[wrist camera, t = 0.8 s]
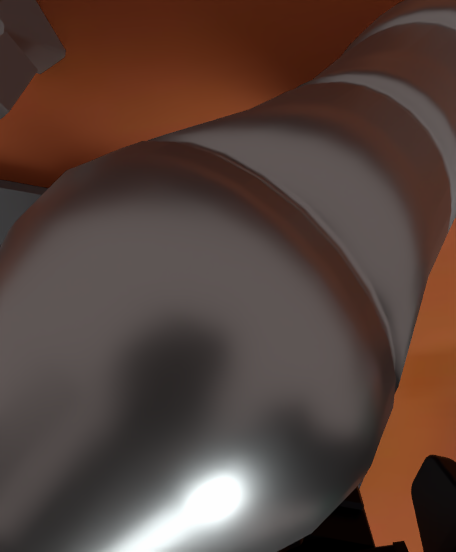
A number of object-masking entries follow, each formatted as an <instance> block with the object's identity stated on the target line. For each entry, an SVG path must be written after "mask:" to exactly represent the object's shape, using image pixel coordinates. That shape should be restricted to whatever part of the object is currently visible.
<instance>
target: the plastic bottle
mask: <svg viewBox="0 0 456 552" xmlns="http://www.w3.org/2000/svg"><path fill="white" fill-rule="evenodd" d="M455 218H456V0H405V1H403V2H400V3H398V4H397V5H395V6H394V7H392V8H391V9H389V10H388V11H386V12H385V13H384V14H382V15H381V16H379V17H378V18H377V19H376V20H375V21H374V22H373V23H372V24H371V25H370V26H369V27H367V28H366V29H365V30H364V31H363V32H362V33H361V34H360V35H359V36H358V37H357V38H356V39H355V40H354V41H353V42H352V43H351V44H350V45H349V46H348V48H347V49H346V50H345V52H344V53H343V54H342V56H341V57H340V58H339V59H337V60H336V61H335V62H334V63H332V64H331V65H330V66H329V67H328V68H326V69H325V70H324V71H323V72H321V73H320V74H319V75H318V76H316V77H315V78H314V79H313V80H311V81H309V82H306V83H304V84H302V85H300V86H298V87H297V88H295V89H293V90H290V91H287V92H285V93H283V94H281V95H279V96H277V97H274V98H272V99H270V100H268V101H266V102H264V103H262V104H260V105H258V106H255V107H253V108H251V109H249V110H246V111H242V112H239V113H236V114H232V115H229V116H226V117H222V118H219V119H216V120H212V121H209V122H206V123H203V124H199V125H196V126H193V127H189V128H186V129H183V130H179V131H176V132H173V133H169V134H166V135H163V136H160V137H157V138H154V139H151V140H148V141H141V142H138V143H135V144H132V145H129V146H126V147H123V148H121V149H118V150H116V151H113V152H111V153H109V154H106V155H104V156H101V157H99V158H97V159H94V160H92V161H89V162H87V163H84V164H82V165H79V166H77V167H74V168H71V169H69V170H66V171H65V172H64V173H63V174H62V175H61V176H60V177H59V178H58V179H57V180H56V181H55V182H54V183H53V184H52V185H51V186H50V187H49V188H48V189H47V190H46V191H45V192H44V193H43V194H42V195H41V196H40V197H39V199H38V200H37V201H36V202H35V203H34V204H33V205H32V206H31V207H30V208H29V209H28V210H27V211H26V212H25V213H24V214H23V215H22V216H21V217H20V218H19V219H18V220H17V221H16V222H15V223H14V224H13V226H12V227H11V228H10V229H9V231H8V233H7V235H6V237H5V239H4V241H3V243H2V245H1V247H0V552H277V551H279V550H281V549H283V548H285V547H287V546H288V545H290V544H292V543H294V542H296V541H298V540H300V539H302V538H303V537H305V536H307V535H309V534H311V533H312V532H313V531H314V530H315V529H316V528H317V527H318V526H319V525H320V524H321V523H322V522H323V521H324V520H325V519H326V518H327V517H328V516H329V515H330V514H331V513H332V512H333V511H334V510H335V509H336V508H337V507H338V506H339V505H340V504H341V503H342V502H343V501H344V500H345V499H346V497H347V496H348V495H349V494H350V493H351V492H352V491H353V490H354V489H355V488H356V487H357V486H358V485H359V484H360V483H361V482H362V480H363V478H364V477H365V475H366V473H367V471H368V470H369V468H370V466H371V464H372V462H373V459H374V456H375V453H376V450H377V448H378V445H379V442H380V439H381V437H382V434H383V432H384V429H385V426H386V424H387V421H388V419H389V416H390V414H391V411H392V409H393V403H394V394H395V392H396V390H397V388H398V385H399V382H400V378H401V374H402V371H403V367H404V363H405V360H406V356H407V353H408V349H409V345H410V342H411V338H412V334H413V331H414V327H415V323H416V320H417V316H418V312H419V309H420V305H421V302H422V298H423V294H424V291H425V287H426V283H427V280H428V276H429V274H430V272H431V270H432V267H433V265H434V263H435V261H436V259H437V256H438V254H439V252H440V250H441V247H442V245H443V243H444V241H445V238H446V236H447V234H448V232H449V229H450V227H451V225H452V223H453V220H454V219H455Z"/></svg>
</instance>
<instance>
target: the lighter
mask: <svg viewBox="0 0 456 552" xmlns="http://www.w3.org/2000/svg"><path fill="white" fill-rule="evenodd" d="M65 52H66V50H65V49H64V47H63V45H62V44H61V42H60V40H59V39H58V37H57V35H56V33H55V32H54V30H53V28H52V27H51V25H50V23H49V22H48V20H47V18H46V17H45V15H44V13H43V12H42V10H41V8H40V7H39V5H38V3H37V2H36V0H0V119H1V118H3V117H4V116H5V115H6V114H7V113H8V112H9V111H10V110H11V108H12V107H13V105H14V104H15V103H16V101H17V100H18V98H19V97H20V95H21V94H22V93H23V91H24V90H25V88H26V87H27V85H28V84H29V83H30V81H31V80H32V78H33V77H34V75H35V74H36V73H38V74H41V73H43V72H44V71H46V70H47V69H48V68H50V67H51V66H53V65H54V64H56V63H57V62H58V61H60V60H61V59H63V58H64V57H65Z"/></svg>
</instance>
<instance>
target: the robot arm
mask: <svg viewBox="0 0 456 552" xmlns="http://www.w3.org/2000/svg"><path fill="white" fill-rule="evenodd" d="M363 479H364V478H363ZM362 481H363V480H362ZM361 483H362V482H361ZM361 483H360V484H359V485H358V486H357V487H356V488H355V489H354V490H353V491H352V492H351V493H350V494H349V495H348V496H347V497H346V499H345V500H344V501H343V502H342V503H341V504H340V505H339V506H338V507H337V508H336V509H335V510H334V511H333V512H332V513H331V514H330V515H329V516H328V517H327V518H326V519H325V520H324V521H323V522H322V523H321V524H320V525H319V526H318V527H317V528H316V529H315V530H314V531H313V532H312V533H311V534H309V535H307V536H305V537H303V538H302V539H300V540H298V541H296V542H294V543H292V544H290V545H288V546H287V547H285V548H283V549H281V550H279V551H277V552H408V549H407V547H406V544H405V542H404V541H400V542H393V545H387V546H380V547H375V544H374V541H373V537H372V534H371V530H370V527H369V523H368V520H367V517H366V513H365V510H364V504H363V501H362V497H361V494H360V490H359V488H360V486H361ZM411 495H412V500H413V505H414V509H415V514H416V519H417V523H418V528H419V532H420V537H421V541H422V546H423V550H424V552H456V462H455V461H453V460H452V459H450V458H446V457H441V456H437V455H429V456H428V457H426V459H425V460H424V462H423V464H422V466H421V468H420V470H419V471H418V473H417V475H416V477H415V479H414V481H413V483H412V488H411Z"/></svg>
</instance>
